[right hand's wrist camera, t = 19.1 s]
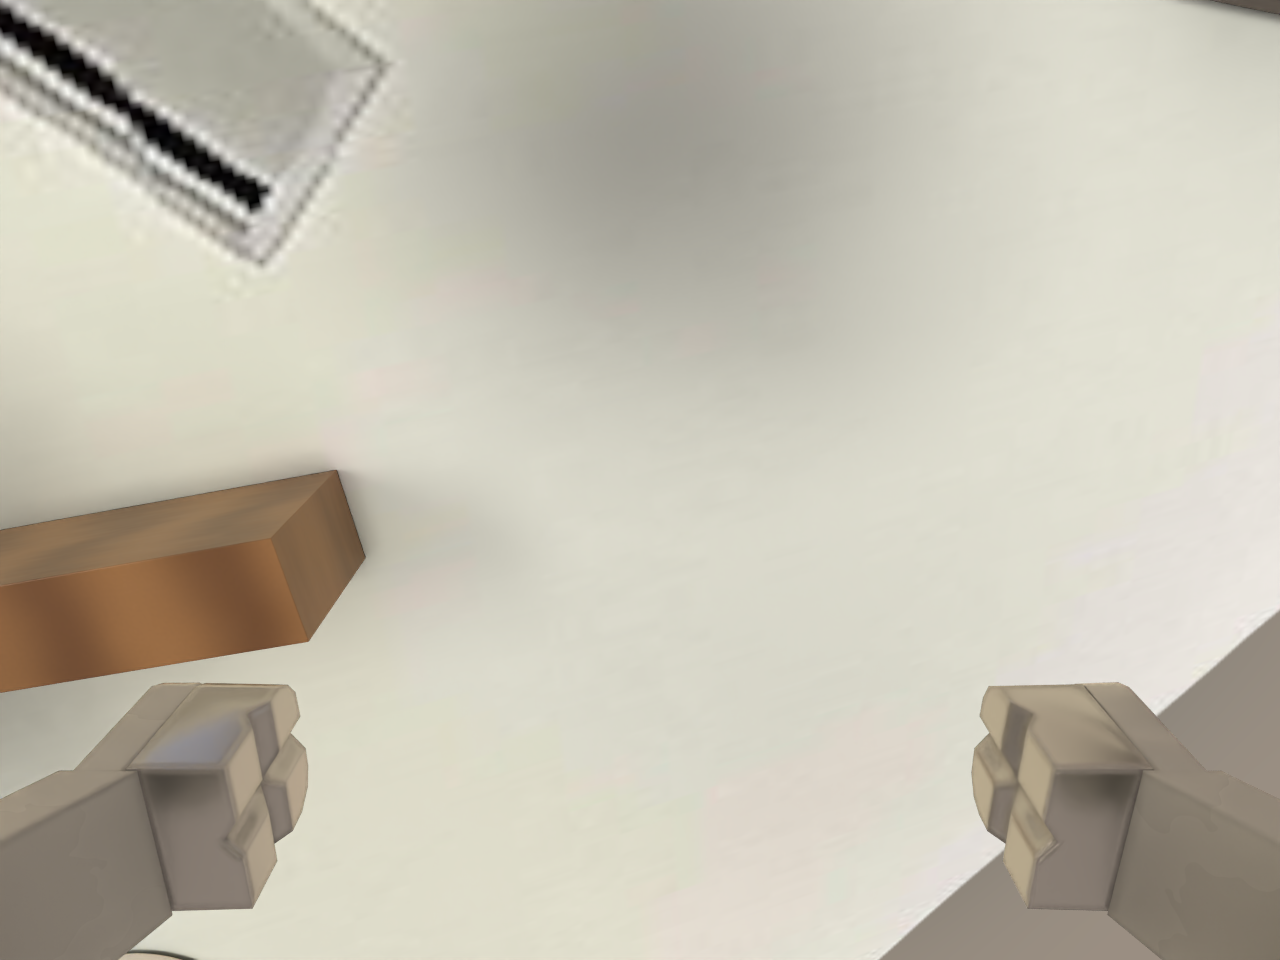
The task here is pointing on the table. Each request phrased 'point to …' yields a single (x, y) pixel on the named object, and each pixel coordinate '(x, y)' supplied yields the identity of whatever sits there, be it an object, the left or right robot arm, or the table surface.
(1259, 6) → the toy
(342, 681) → the table surface
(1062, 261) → the table surface
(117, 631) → the bar
